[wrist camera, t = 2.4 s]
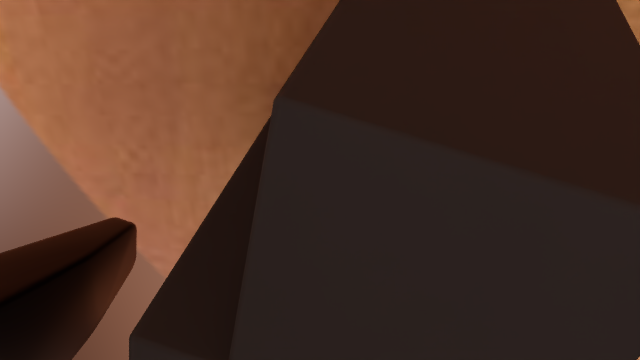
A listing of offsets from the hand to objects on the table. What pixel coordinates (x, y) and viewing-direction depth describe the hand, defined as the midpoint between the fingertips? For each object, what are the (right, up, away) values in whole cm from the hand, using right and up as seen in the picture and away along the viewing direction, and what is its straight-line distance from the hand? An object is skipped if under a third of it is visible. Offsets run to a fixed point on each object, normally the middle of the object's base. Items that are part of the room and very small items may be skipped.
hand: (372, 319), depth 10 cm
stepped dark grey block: (+1, +4, +3) cm, 5 cm away
